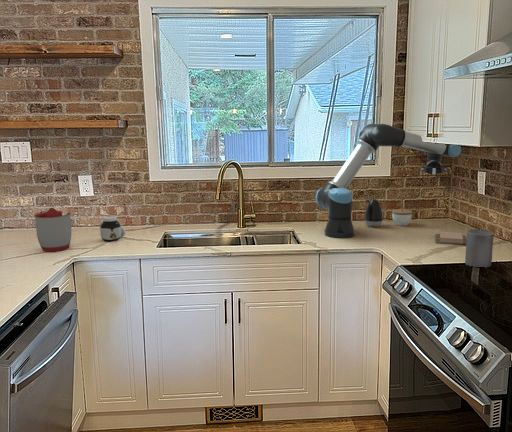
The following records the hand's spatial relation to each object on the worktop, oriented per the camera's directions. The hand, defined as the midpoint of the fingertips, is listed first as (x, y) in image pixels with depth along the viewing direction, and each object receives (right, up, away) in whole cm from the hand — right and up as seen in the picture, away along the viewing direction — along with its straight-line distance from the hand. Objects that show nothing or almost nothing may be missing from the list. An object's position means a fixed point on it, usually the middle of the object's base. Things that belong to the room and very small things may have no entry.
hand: (434, 171), depth 239 cm
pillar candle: (0, -42, -47) cm, 63 cm away
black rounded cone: (-24, -28, +27) cm, 46 cm away
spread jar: (-162, -34, +4) cm, 166 cm away
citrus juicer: (-184, -38, -14) cm, 188 cm away
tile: (+5, -33, -9) cm, 34 cm away
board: (+6, -34, -6) cm, 35 cm away
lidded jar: (-7, -27, +29) cm, 40 cm away
